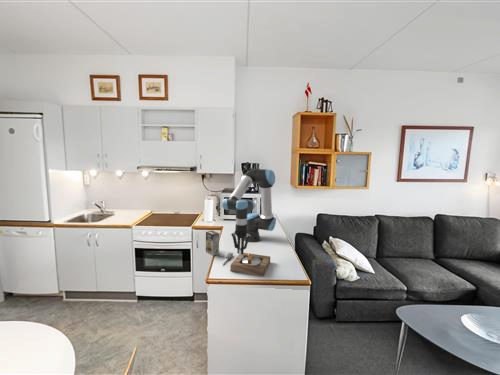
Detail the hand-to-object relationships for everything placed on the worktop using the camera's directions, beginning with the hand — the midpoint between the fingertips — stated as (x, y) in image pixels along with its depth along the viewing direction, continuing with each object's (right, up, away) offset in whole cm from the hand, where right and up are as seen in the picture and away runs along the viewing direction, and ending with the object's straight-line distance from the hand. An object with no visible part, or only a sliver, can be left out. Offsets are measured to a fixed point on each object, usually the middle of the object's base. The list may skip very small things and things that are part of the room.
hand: (240, 258), depth 170 cm
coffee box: (-22, -3, +24) cm, 33 cm away
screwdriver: (-10, -5, +12) cm, 16 cm away
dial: (+7, -4, +3) cm, 9 cm away
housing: (+7, -7, +4) cm, 11 cm away
